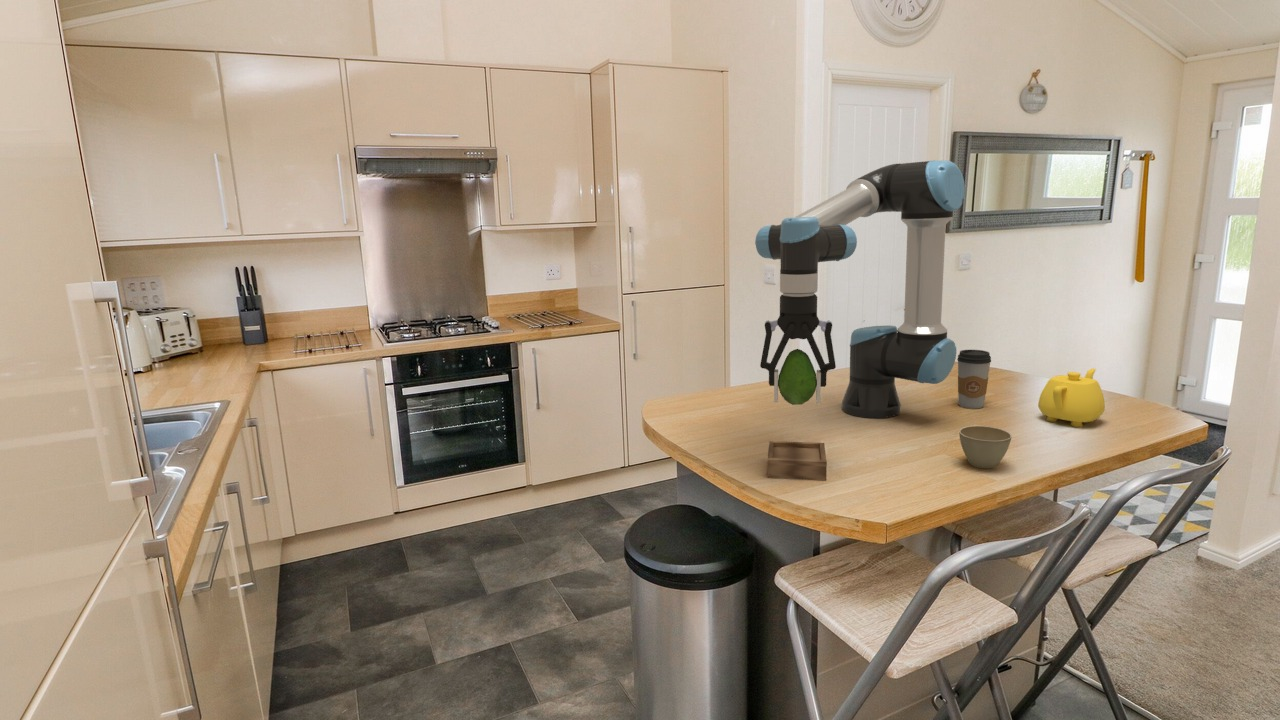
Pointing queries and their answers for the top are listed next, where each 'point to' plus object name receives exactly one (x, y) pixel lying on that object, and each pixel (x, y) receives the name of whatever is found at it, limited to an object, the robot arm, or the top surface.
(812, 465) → the base
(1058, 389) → the teapot
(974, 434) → the grey bowl
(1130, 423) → the top surface
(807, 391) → the avocado
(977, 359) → the coffee cup
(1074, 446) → the top surface
